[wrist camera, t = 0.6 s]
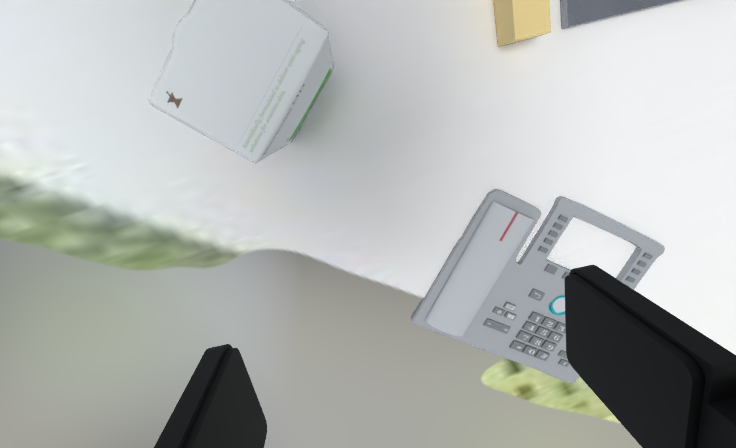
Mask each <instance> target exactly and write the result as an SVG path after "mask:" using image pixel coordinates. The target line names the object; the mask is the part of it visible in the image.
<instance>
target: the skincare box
mask: <svg viewBox="0 0 736 448" xmlns="http://www.w3.org/2000/svg"><path fill="white" fill-rule="evenodd" d="M333 68H334V66H333V61H332V56H331V50H330V43H329V37H328V31H327V30H326V29H325V28H323V27H322V26H321V25H320V24H318V23H317V22H316V21H314V20H313V19H312V18H310V17H309V16H308V15H306V14H305V13H304V12H302V11H301V10H300V9H298V8H297V7H296V6H294V5H293V4H292V3H290V2H289V1H288V0H194V2H193V4H192V6H191V8H190V10H189V12H188V14H187V15H186V16H184V17H183V18H182V19H181V20H180V22H179V23H178V25H177V27H176V29H175V32H174V35H173V47H172V49H171V51H170V54H169V56H168V58H167V60H166V62H165V64H164V66H163V69H162V71H161V73H160V75H159V78H158V80H157V82H156V84H155V86H154V89H153V91H152V93H151V96H150V98H149V103H150V105H152V106H154V107H155V108H157V109H159V110H161V111H162V112H164V113H166V114H168V115H169V116H171V117H173V118H175V119H176V120H178V121H180V122H182V123H184V124H185V125H187V126H189V127H191V128H193V129H194V130H196V131H198V132H200V133H202V134H203V135H205V136H207V137H209V138H211V139H213V140H214V141H216V142H218V143H220V144H222V145H223V146H225V147H227V148H229V149H231V150H232V151H234V152H236V153H238V154H240V155H241V156H243V157H245V158H247V159H249V160H250V161H252V162H254V163H257V162H259V161H260V160H262V159H263V158H265V157H267V156H268V155H270V154H272V153H273V152H275V151H277V150H279V149H280V148H282V147H284V146H285V145H287V144H289V143H290V142H292V140H293V139H294V137H295V135H296V133H297V132H298V130H299V128H300V126H301V125H302V123H303V121H304V119H305V118H306V116H307V114H308V112H309V111H310V109H311V107H312V105H313V103H314V102H315V100H316V98H317V96H318V94H319V93H320V91H321V89H322V87H323V86H324V84H325V82H326V80H327V79H328V77H329V75H330V74H331V72H332V70H333Z"/></svg>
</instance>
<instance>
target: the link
mask: <svg viewBox="0 0 736 448" xmlns="http://www.w3.org/2000/svg"><path fill="white" fill-rule="evenodd" d="M494 11H495V21H496V31H497V42H498V46H502V45H506V44H511V43H515V42H519V41H523V40H527V39H531V38H534V37H537V36H540V35H543V34H547V33H550V32H551V26H550V7H549V0H494Z"/></svg>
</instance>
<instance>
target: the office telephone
mask: <svg viewBox="0 0 736 448" xmlns="http://www.w3.org/2000/svg"><path fill="white" fill-rule="evenodd" d="M540 215H541V211H540V210H539V209H537V208H535V207H533V206H532V205H530V204H528V203H526V202H524V201H522V200H520V199H518V198H516V197H513V196H511V195H509V194H507V193H505V192H503V191H501V190H497V189H495V190H492V191H491V192H489V193H488V194H487V196H486V197H485V199H484V201H483V202H482V204H481V205H480V207H479V208H478V210H477V211H476V213H475V215H474V216H473V218H472V220H471V221H470V223H469V225H468V226H467V228H466V230H465V232H464V234H463V236H462V237H461V238H460V239H459V240H458V242H457V243H456V245H455V247H454V248H453V250H452V252H451V253H450V255H449V257H448V259H447V260H446V262H445V264H444V265H443V267H442V269H441V270H440V272H439V274H438V276H437V277H436V279H435V281H434V282H433V284H432V286H431V288H430V289H429V291H428V293H427V294H426V296H425V298H423V297H422V299H421V301H420V302H419V304H418V306H417V307H416V309H415V311H414V312H413V313H412V315H411V319H412V322H413V323H414V324H415V325H418V326H420V327H423V328H426V329H428V330H431V331H433V332H436V333H439V334H442V335H444V336H447V337H450V338H452V339H455V340H458V341H461V342H464V343H466V344H469V345H471V346H474V347H477V348H480V349H482V350H485V351H488V352H491V353H493V354H496V355H499V356H501V357H504V358H507V359H510V360H512V361H515V362H518V363H520V364H523V365H526V366H529V367H531V368H534V369H537V370H540V371H542V372H545V373H547V374H548V375H550V376H553V377H555V378H558V379H560V380H563V381H566V382H569V383H571V384H573V383H574V382H575V381H576V380H577V379H578V378H579V374H578V373H577V372H576V371H575V370H574V369H573V368H572V366H571V365H570V363H569V361H568V359H567V355H566V324H565V282H564V281H565V277H566V276H568V275H569V273H570V271H571V270H569V269H567V268H565V267H562V266H560V265H558V264H555V263H553V262H551V261H549V260H546V259H547V257H548V255H549V254H550V252H551V250H552V249H553V247H554V246H555V244H556V242H557V241H558V239H559V238H560V236H561V235H562V233H563V232H564V230H565V229H566V227H567V226H568V224H569V223H570V221H571V220H572V218H573V216H575V217H577V218H579V219H582V220H584V221H587V222H589V223H591V224H593V225H596V226H598V227H600V228H602V229H604V230H607V231H609V232H611V233H613V234H615V235H617V236H620V237H622V238H624V239H626V240H628V241H629V242H631V243H633V244H634V245H636V246H637V247H636V249H635V250H634V252H633V254H632V255H631V257H630V258H629V260H628V261H627V263H626V264H625V266H624V267H623V269H622V270H621V272H620V273H619V275H618V276H617V277H616V279H617V280H619V281H620V282H622V283H624V284H625V285H627V286H628V287H630V288H631V289H633V290H634V289H635V287H636V286H637V284H638V283H639V281H640V280H641V279H642V277H643V276H644V275H645V273H646V272H647V270H648V269H649V268H650V266H651V265H652V264H653V262H654V261H655V260H656V259H657V257H658V256H660V255H661V254H663V252H664V250H665V248H664V246H663V245H661V244H659V243H658V242H656V241H654V240H652V239H650V238H648V237H646V236H644V235H642V234H640V233H638V232H636V231H634V230H632V229H630V228H628V227H626V226H624V225H622V224H620V223H618V222H616V221H614V220H612V219H610V218H608V217H606V216H604V215H602V214H600V213H598V212H596V211H594V210H592V209H590V208H588V207H586V206H583V205H581V204H579V203H576V202H574V201H571V200H569V199H567V198H564V197H561V196H560V197H558V198H556V200H555V203H554V205H553V207H552V209H551V210H550V212H549V214H548V215H547V217H546V219H545V220H544V222H543V224H542V225H541V227H540V229H539V230H538V232H537V233H536V235H535V237H534V238H533V240H532V241H531V243H530V245H529V246H528V248H527V249H526V251H525V253H524V254H523V256H522V257H521V259H520V261H519V262H516V257H517V255H518V253H519V251H520V250H521V248H522V246H523V245H524V243H525V241H526V240H527V238H528V236H529V235H530V233H531V231H532V230H533V228H534V226H535V224H536V223H537V221H538V219H539V218H540ZM550 309H551V310H550Z"/></svg>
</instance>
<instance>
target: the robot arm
mask: <svg viewBox="0 0 736 448" xmlns="http://www.w3.org/2000/svg"><path fill="white" fill-rule="evenodd" d="M564 282H565V324H566V355H567V359H568V361H569V363H570V365H571V366H572V368H573V369H574V370H575V371H576V372H577V373H578V374H579V376H580V377H581V378H582V379H583V380H584V381H585V382H586V384H587V385H588V386H589V387H590V388H591V389H592V390H593V392H594V393H595V394H596V395H597V396H598V397H599V398H600V400H601V401H602V402H603V403H604V404H605V405H606V406H607V408H608V409H609V410H610V411H611V412H612V413H613V414H614V416H615V417H616V418H617V419H618V420H619V421H620V422H621V424H622V425H623V426H624V427H625V428H626V429H627V430H628V431H629V433H630V434H631V435H632V436H633V437H634V438H635V439H636V441H637V442H638V443H639V444H640V445H641V446H642V447H643V448H736V355H734V354H733V353H731V352H730V351H728V350H727V349H725V348H723V347H722V346H720V345H719V344H717V343H716V342H714V341H713V340H711V339H709V338H708V337H706V336H705V335H703V334H702V333H700V332H698V331H697V330H695V329H694V328H692V327H691V326H689V325H688V324H686V323H684V322H683V321H681V320H680V319H678V318H677V317H675V316H674V315H672V314H670V313H669V312H667V311H666V310H664V309H663V308H661V307H659V306H658V305H656V304H655V303H653V302H652V301H650V300H649V299H647V298H645V297H644V296H642V295H641V294H639V293H638V292H636V291H634V290H633V289H631V288H630V287H628V286H627V285H625V284H624V283H622V282H620V281H619V280H617V279H616V278H614V277H613V276H611V275H610V274H608V273H606V272H605V271H603V270H602V269H600V268H599V267H597V266H595V265H589V266H585V267H580V268H575V269H572V270H571V271H570V273H569V275H568V276H566V277H565V281H564ZM266 433H267V424H266V420H265V416H264V414H263V411H262V408H261V406H260V403H259V401H258V398H257V395H256V393H255V390H254V388H253V385H252V383H251V380H250V377H249V375H248V372H247V370H246V367H245V364H244V362H243V359H242V357H241V354H240V352H239V350H238V349H237V348H232V346H231V345H229V344H226V345H222V346H217V347H212V348H209V349H207V350H206V351H205V353H204V355H203V356H202V358H201V360H200V362H199V364H198V366H197V368H196V370H195V372H194V374H193V375H192V377H191V379H190V381H189V383H188V385H187V387H186V388H185V390H184V392H183V394H182V396H181V398H180V400H179V402H178V403H177V405H176V407H175V409H174V411H173V413H172V415H171V417H170V419H169V420H168V422H167V424H166V426H165V428H164V430H163V432H162V433H161V435H160V437H159V439H158V441H157V443H156V445H155V447H154V448H264V444H265V439H266Z"/></svg>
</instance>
